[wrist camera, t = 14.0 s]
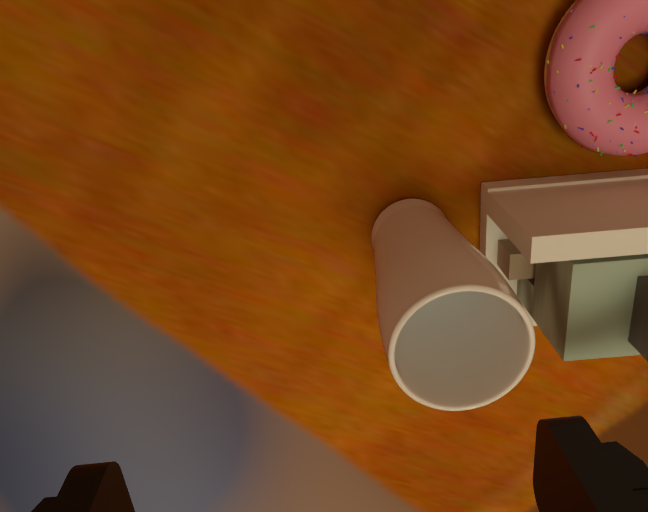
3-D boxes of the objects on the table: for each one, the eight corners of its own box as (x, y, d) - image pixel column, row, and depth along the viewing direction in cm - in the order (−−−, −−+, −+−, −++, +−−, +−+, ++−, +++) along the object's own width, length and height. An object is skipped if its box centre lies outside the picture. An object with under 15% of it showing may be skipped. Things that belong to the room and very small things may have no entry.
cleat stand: (481, 182, 38) (532, 233, 29) (686, 164, 38) (800, 210, 29) (477, 319, 42) (521, 400, 33) (662, 304, 42) (755, 381, 33)
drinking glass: (466, 189, 38) (555, 290, 24) (448, 280, 41) (519, 418, 27) (366, 180, 38) (398, 278, 24) (354, 273, 40) (377, 409, 26)
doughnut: (496, 86, 36) (519, 95, 32) (623, -82, 32) (666, -95, 28) (620, 179, 38) (654, 198, 34) (750, 33, 35) (804, 36, 31)
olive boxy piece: (521, 214, 37) (621, 310, 25) (659, 203, 37) (825, 293, 25) (516, 296, 39) (605, 419, 28) (646, 285, 39) (792, 404, 27)
